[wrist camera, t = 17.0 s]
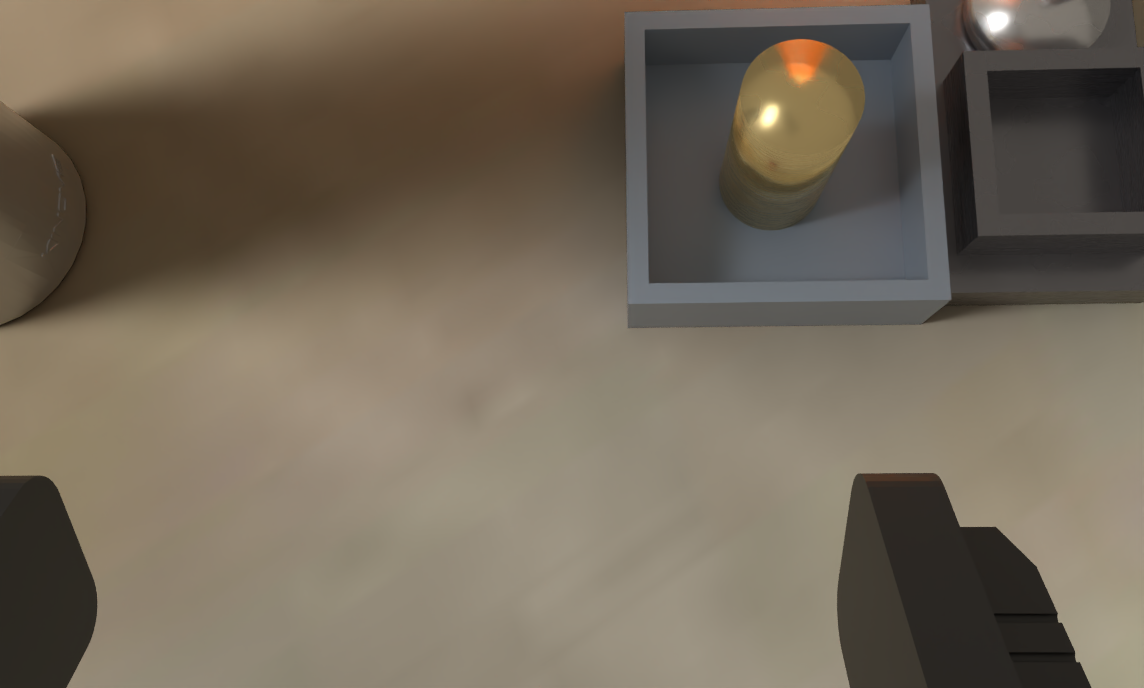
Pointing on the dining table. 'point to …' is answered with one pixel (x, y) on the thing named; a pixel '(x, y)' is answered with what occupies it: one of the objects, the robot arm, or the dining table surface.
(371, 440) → the dining table surface
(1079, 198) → the crank housing
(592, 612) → the dining table surface
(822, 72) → the cylinder
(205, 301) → the dining table surface
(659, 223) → the tray
